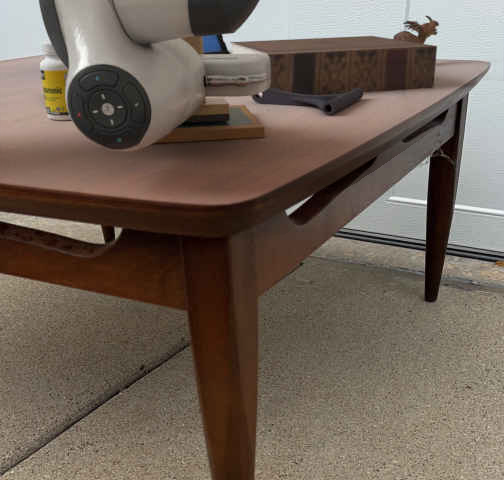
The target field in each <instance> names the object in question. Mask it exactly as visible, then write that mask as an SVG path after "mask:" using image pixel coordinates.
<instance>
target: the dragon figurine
mask: <svg viewBox="0 0 504 480" xmlns="http://www.w3.org/2000/svg"><path fill="white" fill-rule="evenodd" d="M425 17H426V18H427V19H428V21H429V22H425V23H424V22H423V23H422V24H420V23H419V22H418V21H419V20H415V21H414V20H406V21H404V22H403V25H404V28H407V30H402V31H399V32H397V33H396V34H394V35H393V38H392V39H395V40H402V41H408V42H415V43H421V44H425V42H426V41H427V39H428V38H430V37H431V36H436V35H437V34H438V31H437V30H438V28H437V27H439V26H440V23H439V22H438V21H437V20H434V19H432V17H430V15H425ZM408 30H411V32H410V31H408ZM413 31H414V32H416V33H417V35H415V34H414V33H412V32H413Z"/></svg>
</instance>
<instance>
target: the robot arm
mask: <svg viewBox="0 0 504 480" xmlns="http://www.w3.org/2000/svg"><path fill="white" fill-rule="evenodd" d="M260 1H261V0H38V4H39V9H40V14H41V18H42V23H43V25H44V28H45V32H46V34H47V36H48V39H49V41H51V44H52V46H53V48H54V50H55V52H56V54H57V55H58V57H59V58H60V60H61V61H62V62H63V64H64V65H65V66H66V67H67V69H68V70H69V71H68V77H67V81H66V88H65V99H66V105H67V109H68V112H69V115H70V118H71V120H70V121H72V123H73V125H74V127H75V128H76V129H77V130H78V131H79V133H80V134H81V135H82V136H84V137H85V138H86V139H88V140H89V141H90V142H92V143H93V144H95V145H96V146H99V147H101V148H103V149H106V150H110V151H114V152H115V151H116V152H133V151H138V150H141V149H144V148H146V147H149V146H151V145H152V144H156V143H155V142H156V141H158V140H160V139H161V138H163V137H164V136H166V135H167V134H169V133H170V132H171V131H172V130H173V129H174V128H175V127H177V126H179V125H180V124H182V123H183V122H184V121H185V120H187V119H188V118H189V117H191V116H192V115H193V114H194V113H195V112H196V111H197V110H198V109H199V107H200V106H201V104H202V102H203V100H204V98H205V97H206V98H222V97H224V98H225V97H231V98H232V97H234V98H235V97H236V98H237V97H250V96H251V95H256V94H259V93H261V92H263V91H265V90H267V89H268V88H269V87H270V85H271V61H270V57H269V56H268V55H265V54H233V53H230V54H198V53H197V52H196V51H195V49H194V48H193V47H192V46H191V45H189V44H188V43H187V42H185V41H184V40H182V39H180V38H184V37H189V36H195V37H200V36H211V35H221V34H222V35H228V34H229V35H231V34H235V33H236V32H237V31H238V30H240V28H241V27H242V26H243V25H244V23H245V22H246V21H248V19H249V18H250V16H252V13H253V12H254V11H255V9H256V8H257V6H258V4H259V3H260ZM259 95H260V94H259ZM251 97H252V96H251Z"/></svg>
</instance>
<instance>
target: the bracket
mask: <svg viewBox="0 0 504 480" xmlns="http://www.w3.org/2000/svg"><path fill="white" fill-rule="evenodd" d="M363 97H364V93H363V90H362V89H361V88H356V89H354V90H352V91H350V92H347V93H345V94H331V95H304V94H298V93H292V92H286V91H283V90H280V89H277V88H274V87H271V86H270V87H269V88H268V89H267V90H265V91H263V92H262V95H261V96H260V94H256V95H251V99H252V100H253V102H255V103H257V104H265V105H267V104H268V105H284V106H285V105H287V106H308V107H318V108H319V109H320V110H321V111H322V113H323V114H325V115H327V116H330V115H332V114H334V113H336V112H338V111H340V110H342V109H344V108H346V107H347V106H349V105H351V104H353V103H355V102H356V101H357V102H358V100H361V99H362V98H363Z"/></svg>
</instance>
